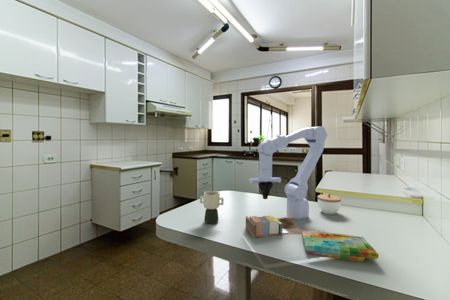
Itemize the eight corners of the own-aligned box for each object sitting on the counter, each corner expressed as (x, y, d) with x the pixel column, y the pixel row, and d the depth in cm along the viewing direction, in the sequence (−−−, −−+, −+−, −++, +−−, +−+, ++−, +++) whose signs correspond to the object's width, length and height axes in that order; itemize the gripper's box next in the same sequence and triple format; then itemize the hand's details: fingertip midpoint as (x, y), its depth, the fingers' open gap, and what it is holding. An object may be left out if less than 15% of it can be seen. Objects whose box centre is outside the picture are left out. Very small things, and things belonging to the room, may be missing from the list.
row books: (262, 228, 87) (262, 215, 86) (268, 235, 81) (269, 220, 81) (249, 230, 86) (249, 216, 85) (255, 236, 80) (255, 222, 79)
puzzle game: (301, 228, 79) (363, 234, 74) (301, 240, 79) (362, 247, 75) (305, 243, 68) (378, 251, 63) (305, 257, 68) (378, 267, 63)
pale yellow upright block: (271, 227, 88) (272, 215, 88) (278, 233, 82) (279, 220, 82) (262, 228, 87) (262, 215, 87) (269, 234, 81) (269, 221, 81)
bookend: (280, 226, 89) (281, 217, 89) (288, 233, 83) (289, 223, 82) (272, 227, 88) (272, 217, 88) (280, 234, 82) (280, 224, 82)
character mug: (225, 220, 98) (225, 191, 97) (221, 226, 91) (221, 195, 90) (202, 217, 101) (202, 190, 100) (196, 223, 94) (196, 193, 93)
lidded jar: (312, 210, 113) (313, 192, 112) (328, 208, 116) (329, 190, 116) (328, 217, 103) (328, 197, 102) (345, 214, 106) (346, 195, 106)
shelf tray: (292, 225, 92) (292, 212, 92) (305, 234, 83) (305, 220, 83) (245, 230, 87) (245, 216, 87) (253, 240, 79) (253, 225, 78)
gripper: (276, 167, 103) (275, 195, 103) (247, 167, 99) (246, 197, 100) (283, 169, 96) (283, 199, 96) (252, 169, 92) (252, 201, 93)
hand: (265, 198), depth 98 cm, fingers closed
